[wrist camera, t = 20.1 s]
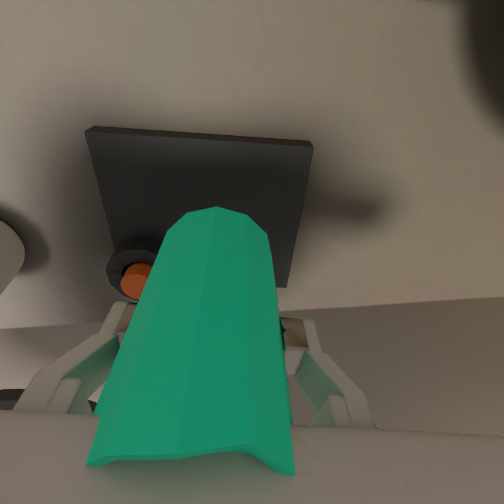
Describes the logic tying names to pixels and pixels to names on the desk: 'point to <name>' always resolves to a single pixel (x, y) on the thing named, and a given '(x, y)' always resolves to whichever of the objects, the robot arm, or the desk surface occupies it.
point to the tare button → (135, 279)
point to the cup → (9, 255)
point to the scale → (195, 188)
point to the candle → (201, 353)
